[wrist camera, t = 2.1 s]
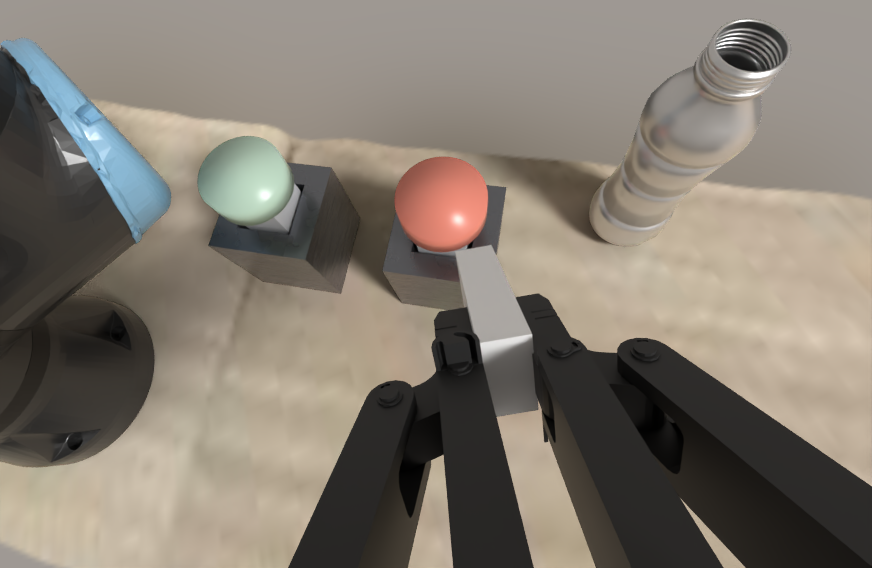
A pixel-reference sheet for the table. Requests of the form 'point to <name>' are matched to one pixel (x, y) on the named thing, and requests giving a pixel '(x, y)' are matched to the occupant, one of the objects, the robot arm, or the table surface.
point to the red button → (442, 205)
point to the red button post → (436, 262)
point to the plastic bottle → (690, 130)
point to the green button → (250, 185)
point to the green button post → (299, 237)
